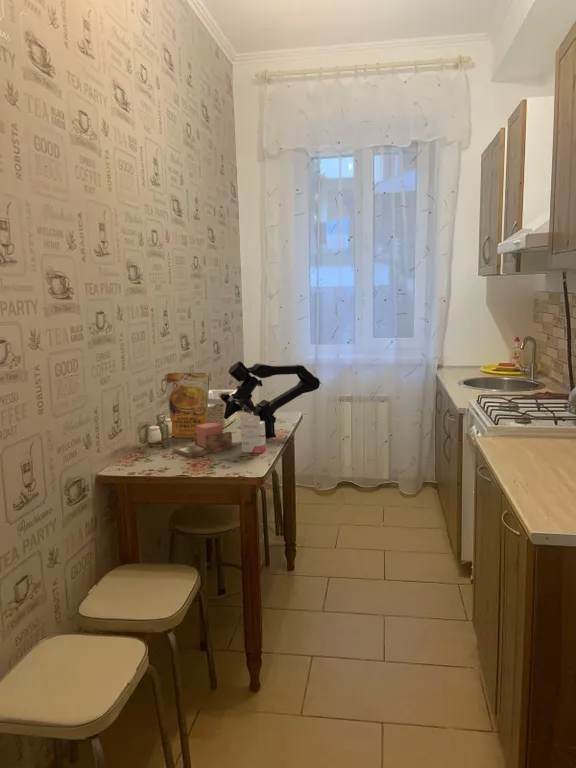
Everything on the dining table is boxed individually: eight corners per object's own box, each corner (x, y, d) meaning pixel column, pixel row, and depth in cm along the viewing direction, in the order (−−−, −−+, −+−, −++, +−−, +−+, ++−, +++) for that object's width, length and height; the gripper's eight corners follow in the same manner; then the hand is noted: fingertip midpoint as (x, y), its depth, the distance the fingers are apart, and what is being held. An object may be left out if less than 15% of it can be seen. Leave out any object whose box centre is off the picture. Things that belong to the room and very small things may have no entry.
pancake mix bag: (171, 434, 264) (167, 372, 259) (212, 434, 261) (209, 371, 256) (166, 438, 257) (161, 374, 253) (208, 438, 254) (204, 374, 250)
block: (214, 441, 244) (213, 422, 243) (223, 444, 239) (222, 425, 237) (197, 444, 239) (196, 425, 238) (206, 448, 234) (204, 428, 233)
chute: (216, 441, 249) (215, 427, 248) (234, 448, 238) (233, 433, 237) (173, 450, 237) (172, 435, 236) (190, 458, 226) (189, 442, 225)
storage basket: (209, 417, 295) (207, 388, 293) (240, 418, 292) (239, 388, 290) (192, 429, 272) (190, 397, 270) (226, 430, 269) (224, 398, 267)
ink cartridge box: (266, 450, 234) (265, 413, 231) (261, 453, 229) (260, 416, 227) (246, 448, 236) (245, 412, 234) (241, 452, 232) (239, 415, 229)
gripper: (270, 403, 245) (249, 433, 241) (246, 397, 260) (225, 425, 255) (254, 386, 239) (232, 417, 235) (229, 381, 254) (208, 410, 249)
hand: (225, 418), depth 244 cm, fingers closed
